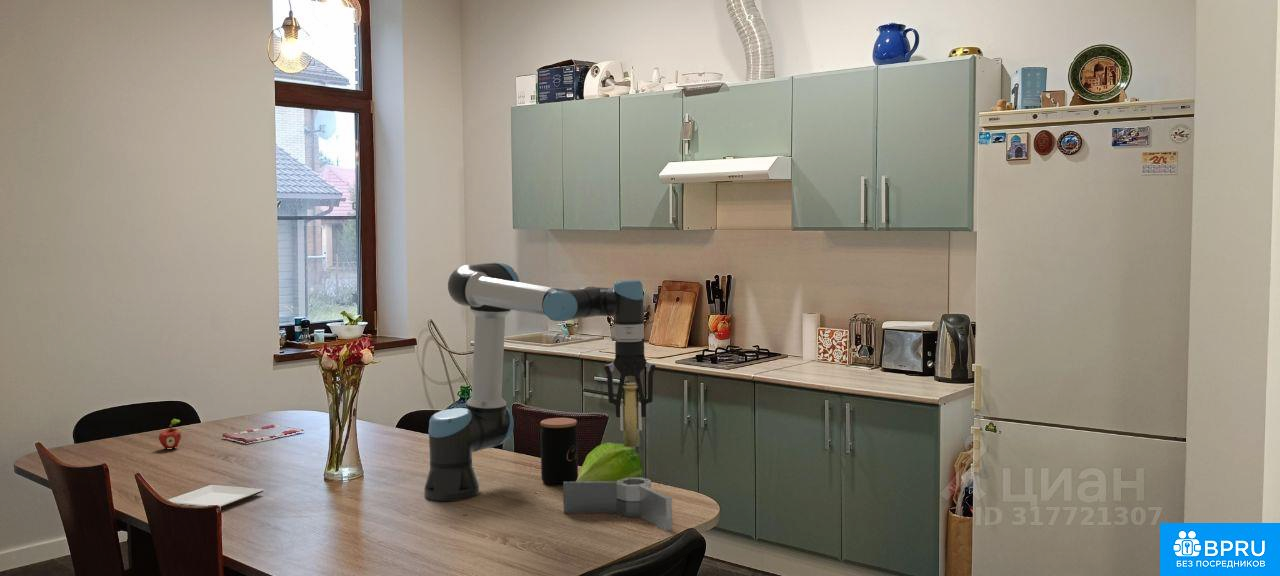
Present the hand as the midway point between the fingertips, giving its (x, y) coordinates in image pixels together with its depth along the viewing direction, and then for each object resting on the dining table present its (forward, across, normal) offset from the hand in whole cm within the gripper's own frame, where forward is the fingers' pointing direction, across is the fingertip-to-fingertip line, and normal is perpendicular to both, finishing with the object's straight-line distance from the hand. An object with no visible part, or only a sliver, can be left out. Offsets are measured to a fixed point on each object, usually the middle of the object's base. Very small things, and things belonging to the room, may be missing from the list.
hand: (631, 429), depth 257 cm
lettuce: (+22, -8, +18) cm, 30 cm away
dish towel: (+22, -140, +97) cm, 171 cm away
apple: (+21, -163, +77) cm, 182 cm away
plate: (+22, -117, +11) cm, 119 cm away
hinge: (+22, -4, -6) cm, 23 cm away
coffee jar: (+22, -23, +31) cm, 45 cm away
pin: (+4, 0, 0) cm, 4 cm away
